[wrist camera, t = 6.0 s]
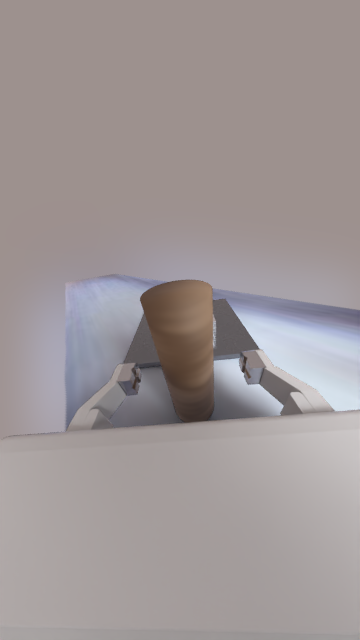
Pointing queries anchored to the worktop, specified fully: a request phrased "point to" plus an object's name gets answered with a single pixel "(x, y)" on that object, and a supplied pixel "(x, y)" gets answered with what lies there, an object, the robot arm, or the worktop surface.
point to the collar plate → (226, 338)
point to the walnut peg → (184, 343)
